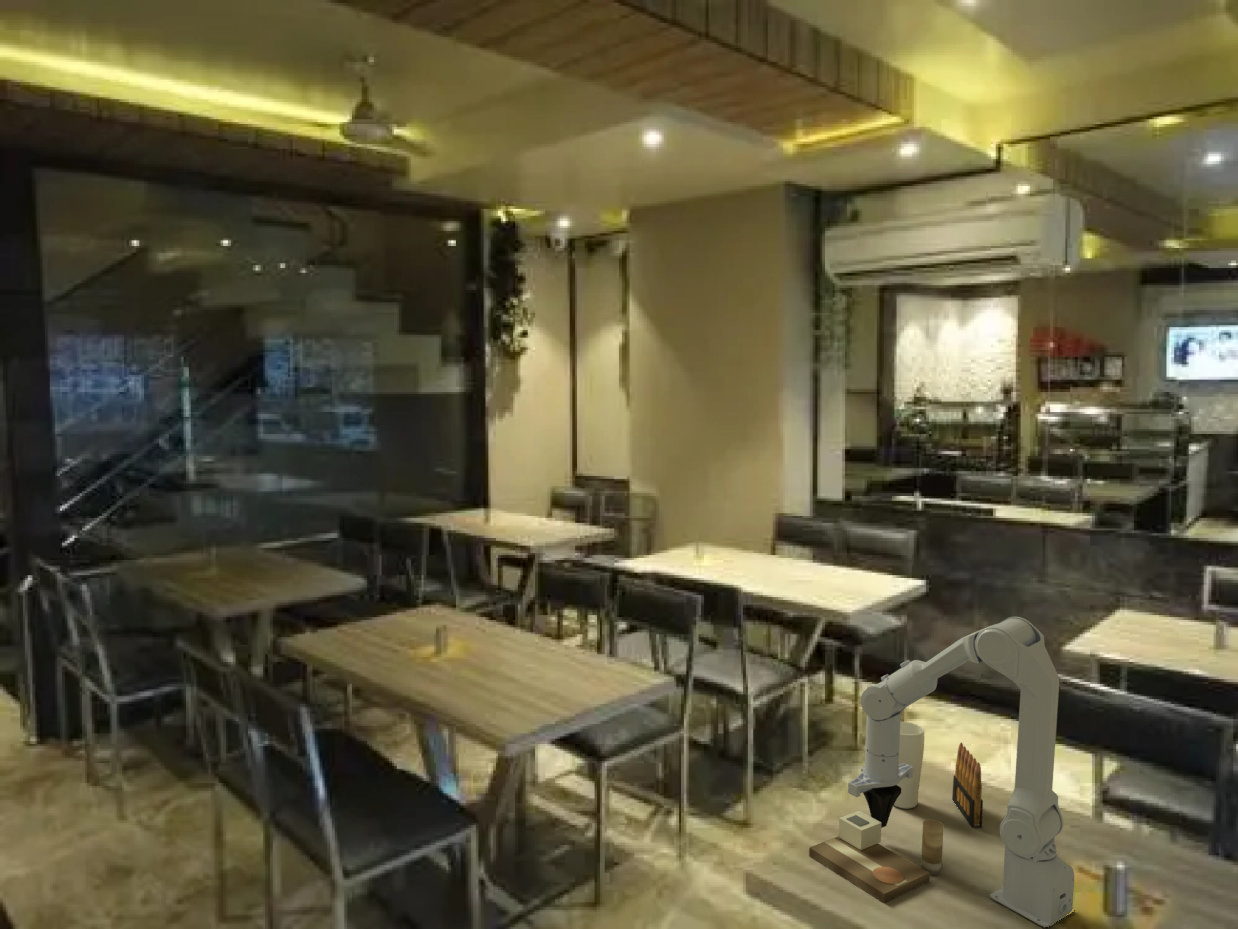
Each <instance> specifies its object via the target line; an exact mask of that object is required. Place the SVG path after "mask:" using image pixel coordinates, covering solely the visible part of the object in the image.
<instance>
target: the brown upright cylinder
mask: <svg viewBox="0 0 1238 929" xmlns="http://www.w3.org/2000/svg"><path fill="white" fill-rule="evenodd" d="M944 827H945V826H944V824H943V823H942V822H940V820H939V821H938V820H937V819H936V820H935V819H925V820H923V822H922V834H921V835H922V839H921V841H922V842H921V860H920V861H921V862H920V867H921V868H922V869H924V870H926V871H928V872H930V877H931V876H934V877H937V876H940V875H941V874H942V869H943V868H942V865H943V847H944V846H943V845H944V844H943V843H944Z"/></svg>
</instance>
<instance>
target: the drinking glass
mask: <svg viewBox="0 0 1238 929" xmlns="http://www.w3.org/2000/svg"><path fill="white" fill-rule="evenodd" d="M924 752H925V728H924V727H922V726H921V725H918V724H916V723H913V722H909V721H908V722H907V721H901V722H900V747H899V764H903V763H905V764H907V765H910V766H912V767H913V777H912V778H907V777H905V778H903V779H902V780H901V781H900V782H899V783H898V784H897V786H899V787H901V794H900V795H899V797H898V798H897V800H896V801H895V803H894V805H893V807H897V808H899V809H903V810H904V809H914V808H916V807H917V805H918V801H919V791H920V790H919V788H920V783H921V781H920V780H921V775H922V767H923V759H924V754H925V753H924Z"/></svg>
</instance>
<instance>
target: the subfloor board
mask: <svg viewBox="0 0 1238 929" xmlns="http://www.w3.org/2000/svg"><path fill="white" fill-rule="evenodd" d="M808 851H809V852H808V854H809V857H810V858H812V859H813V860H815V861H816V862H818V863H819V864H821V865H823V866H824V867H826V868H828V869H829V870H831V871H832V872H834V873H835V874H837V875H839V876H840V877H842V878H843V879H846V880H847V881H849V882H850V883H851V884H854V886H857V888H859V889H861V890H862V891H864V892H866V893H867V894H869V895H870V896H872V897H874V898H875V899H877V900H878V901H880V902H881V903H884V904H885V903H887V902H888V901H891V900H893V899H895V898H897V897H900V896H902V895H904V894H905V893H908V892H910V891H912V890H914V889H917V888H919V887H921V886H924V884H927V883H930V879H931V875H930V872H928V871H926V870H924V869H922V868H921V866H919V865H916V863H913V862H912V861H910V860H908V859H907V858H904V857H903V856H901V855H899V854H897V853H896V852H894V851H892V850H890V849H888V848H887V847H885V846H883V845H881V844H880V843H877V844H875V845H872V846H870V847H867V848H865V849H862V850H860V849H858V848H856V847H854V846H853V845H851V844H849V843H848V842H846V841H844V840H842V839H841V838H839V835H837V836H836V837H833V838H831V839H828V840H825V841H822V842H820V843H818V844H815V845H812V846H810V847H809V850H808Z"/></svg>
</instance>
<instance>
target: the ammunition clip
mask: <svg viewBox="0 0 1238 929" xmlns="http://www.w3.org/2000/svg"><path fill="white" fill-rule="evenodd" d="M952 781H953V782H952V794H951V795H952V796H951V797H952V798H951V800H953V801H954V802H953V801H952V802H953V803H955V804H956V805H955V804H954V805H955V806H956V808H957V807H958V808H957V809H958V811H959V810H960V811H959V812H960V814H961V815H962V817H963V818H964V819H965V821H966V822H967V823H968V825H969V827H971V829H972V828H974V829H975V828H976V829H979V828H980V829H982V828H983V808H984V807H983V805H984V800H983V799H982V796H983V795H982V793H983V792H982V789H983V787H982V786H983V785H982V784H983V783H982V767H981V764H980V762H977V759H976V758H975V757H974V756H973V753H970V750H969V749H967V747H966V746H965V745H964V744H963V742H962V741H961V742H960V743H959V744H958V748H957V755H956V761H955V773H954V774H953V779H952Z"/></svg>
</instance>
